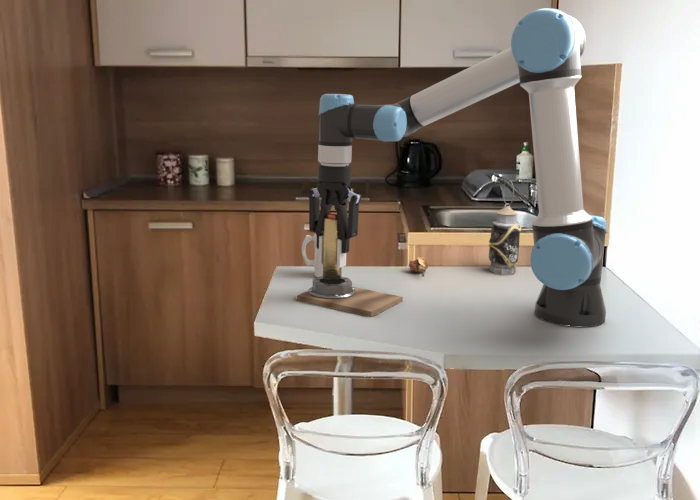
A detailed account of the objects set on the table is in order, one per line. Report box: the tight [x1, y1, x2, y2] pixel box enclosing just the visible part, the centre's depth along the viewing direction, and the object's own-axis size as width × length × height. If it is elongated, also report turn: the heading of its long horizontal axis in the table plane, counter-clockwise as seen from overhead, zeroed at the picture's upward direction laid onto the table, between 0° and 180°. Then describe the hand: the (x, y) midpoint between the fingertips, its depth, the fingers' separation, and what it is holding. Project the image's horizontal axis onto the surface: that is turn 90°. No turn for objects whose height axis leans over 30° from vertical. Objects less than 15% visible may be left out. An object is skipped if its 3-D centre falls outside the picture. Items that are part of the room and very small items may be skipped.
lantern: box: [488, 179, 522, 276], centre depth 205 cm, size 9×8×25 cm
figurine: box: [408, 256, 429, 277], centre depth 203 cm, size 14×5×4 cm, turn 23°
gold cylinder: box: [323, 212, 343, 280], centre depth 177 cm, size 4×4×15 cm
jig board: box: [296, 286, 404, 317], centre depth 178 cm, size 20×14×1 cm
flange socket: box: [307, 276, 356, 299], centre depth 180 cm, size 11×11×3 cm
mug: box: [301, 232, 323, 278], centre depth 197 cm, size 10×7×12 cm, turn 104°
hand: (332, 264), depth 178 cm, fingers closed on gold cylinder, 4 cm apart
